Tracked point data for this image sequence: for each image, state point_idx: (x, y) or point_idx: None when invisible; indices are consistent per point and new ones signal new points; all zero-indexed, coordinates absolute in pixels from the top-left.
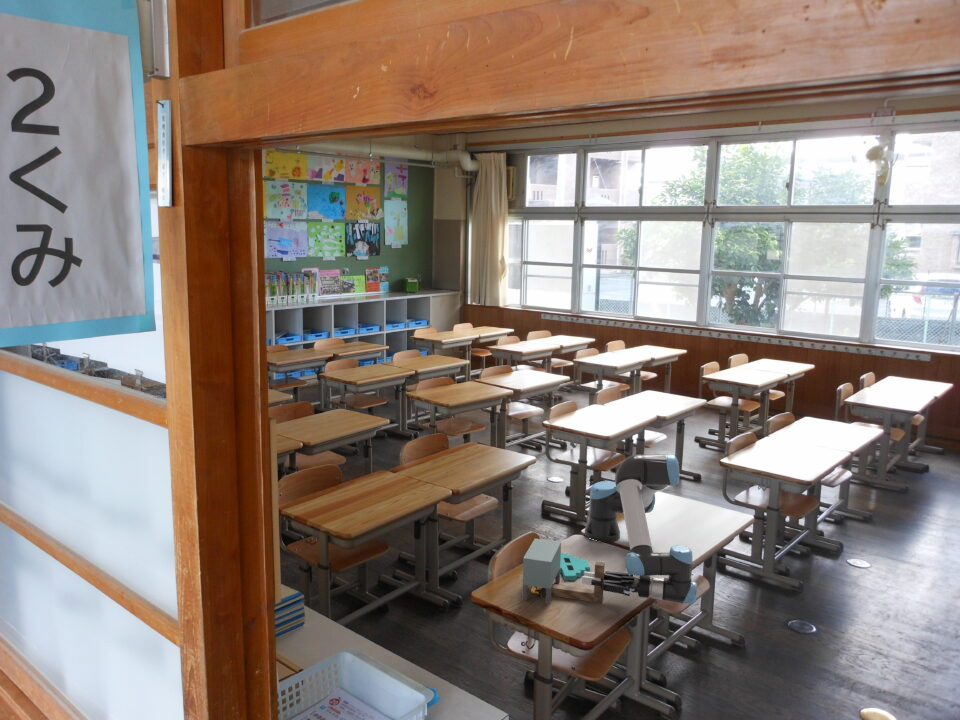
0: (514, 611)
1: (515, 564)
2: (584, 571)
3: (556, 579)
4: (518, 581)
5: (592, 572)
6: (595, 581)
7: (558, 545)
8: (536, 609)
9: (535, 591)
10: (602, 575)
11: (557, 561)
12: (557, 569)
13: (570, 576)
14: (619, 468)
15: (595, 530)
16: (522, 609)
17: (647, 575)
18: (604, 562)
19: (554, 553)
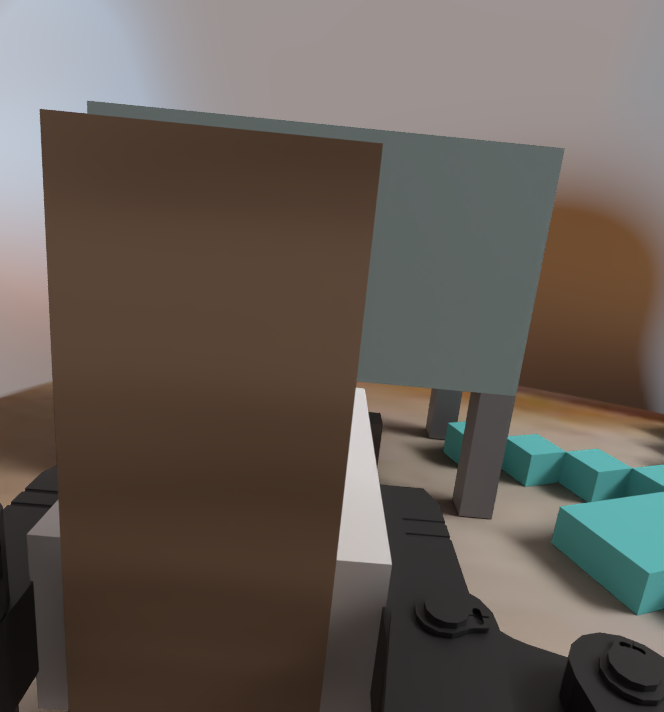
0: (33, 388)
1: (543, 392)
2: (358, 388)
3: (460, 473)
4: (376, 397)
5: (370, 441)
6: (33, 502)
7: (471, 139)
8: (36, 440)
9: None
10: (70, 471)
11: (388, 266)
12: (390, 347)
13: (597, 543)
14: None
15: None
16: (50, 405)
17: None
18: (377, 145)
19: (283, 121)
